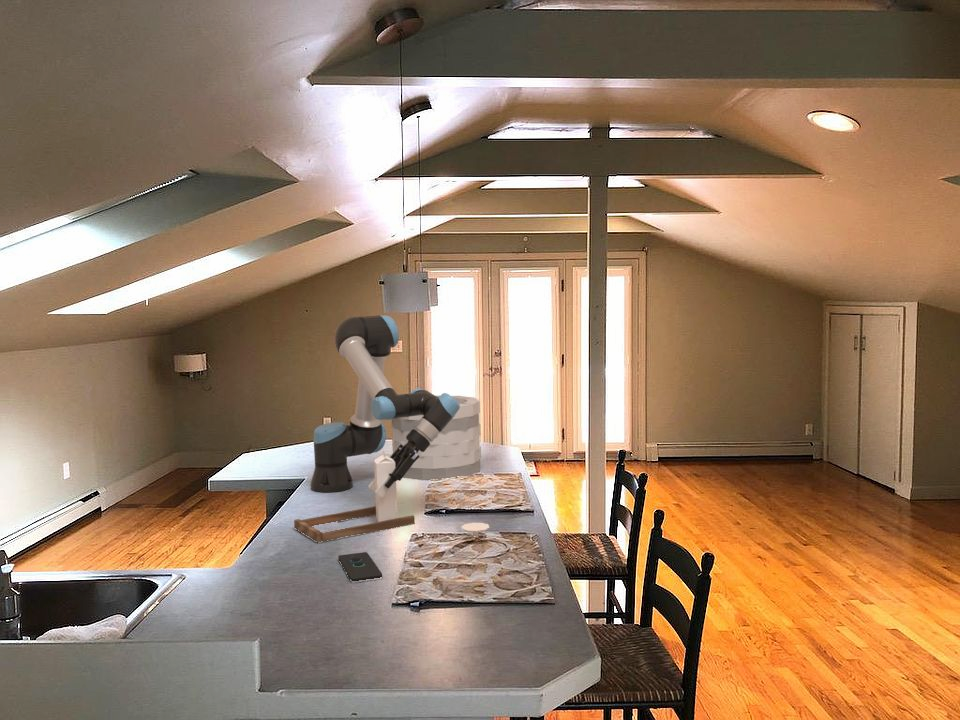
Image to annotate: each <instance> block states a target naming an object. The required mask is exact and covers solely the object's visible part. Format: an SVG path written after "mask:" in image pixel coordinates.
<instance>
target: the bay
mask: <svg viewBox="0 0 960 720" xmlns="http://www.w3.org/2000/svg"><path fill="white" fill-rule="evenodd" d="M365 516H367V517H371V516H376V505H374V506H369V507H363V508H359V509H353V510H348V511H343V512H337V513H333V514H332V513H331V514H327V515H321V516H315V517H311V518H310V517H309V518H305V519H299V518H297V519H293V525H294V526H293V527H294V528H296V529H297V530H299V531H300V532H302V533H304V534H305V535H307V536H309V537H310V538H312V539H313V540H315V541H317V542H321V541H327V540H331V539H337V538H340V537H345V536H351V535H357V534H363V533H367V534H371V533H370V532H372V533H376V532H375V531H377V532H381V531H380V530H382V531H387V530H390V529H391V528H392V529H396V527H397V528H401V527H400V526H402V527H406V526H412V525H415V524H416V523H415V519H416V518H415V515H414V514H411V515H407V516H406V515H405V516H401V517H397V518H395V519H390V520H385V521H380V522H378V521H376V522H371V523H367V524H366V523H365V524H361V525H356V526H352V527H348V528H345V529H340V530H335V531H330V532H325V533H322V532H320V531H319V530H317V529H315V528H314V527H312V526H314V525H319V524H325V523H331V522H336V521H341V520H346V519H352V518H357V519H360V518H359V517H362V518H366V517H365ZM352 520H353V519H352ZM346 521H347V520H346ZM341 522H342V521H341ZM338 523H340V522H338ZM386 529H387V530H386ZM392 529H391V530H392ZM300 532H299V533H300ZM305 535H304V536H305ZM363 535H364V534H363ZM313 540H312V541H313Z"/></svg>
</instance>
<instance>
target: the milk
mask: <svg viewBox="0 0 960 720" xmlns="http://www.w3.org/2000/svg"><path fill="white" fill-rule="evenodd" d="M386 454H387V453H386V451H385V450H384V449H382V454H381V455H380V456H378V457H377V458H375V459H374V460H373V465H374V466H373V469H374V470H373V471H374V479H375V491H376V490H377V489H378V487H379V486H380V485H381V484H382V483H383V482H384V480H385V479H386V478H387V477H388V476H389V474H390V473H391V474H392V472H393V471H394V469H395V462H394V460H393V459H392V458H390V456H388V455H386ZM374 493H375V494H374V495H375V506H376V515H375V518H376V520H377V521H376V522H380V521H385V520H390V519H395V518H398V506H397V505H398V503H397V502H398V501H397V499H398V498H397V481H395V482H394V484H393V485H392V486H391V487H390V488H389V490H388V491H387V492H386V493H385V494H384V496H383V497H382V498H381V497H380V496H379V495H378V494H377V493H376V492H374Z"/></svg>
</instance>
